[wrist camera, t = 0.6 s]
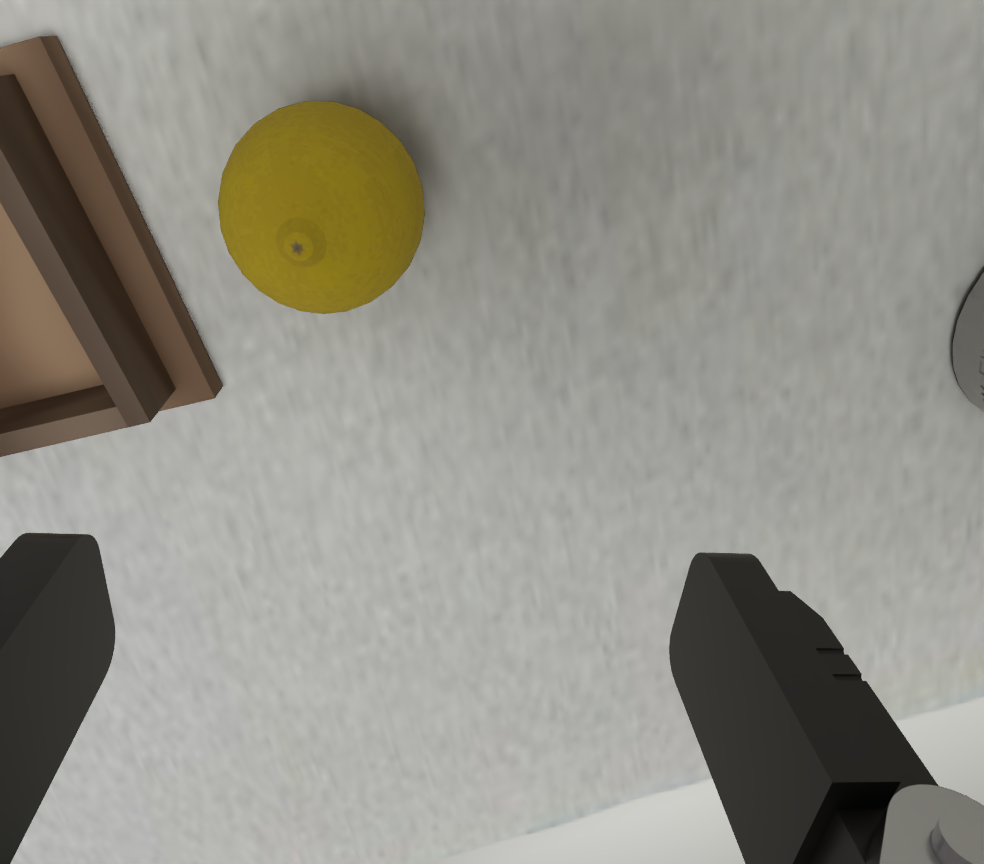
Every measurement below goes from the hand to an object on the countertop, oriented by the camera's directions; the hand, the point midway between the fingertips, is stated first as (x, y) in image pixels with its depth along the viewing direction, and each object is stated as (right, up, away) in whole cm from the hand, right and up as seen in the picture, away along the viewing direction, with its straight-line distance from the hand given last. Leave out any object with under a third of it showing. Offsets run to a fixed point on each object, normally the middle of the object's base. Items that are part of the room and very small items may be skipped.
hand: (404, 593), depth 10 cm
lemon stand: (-17, +8, +15) cm, 24 cm away
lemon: (-4, +11, +14) cm, 18 cm away
